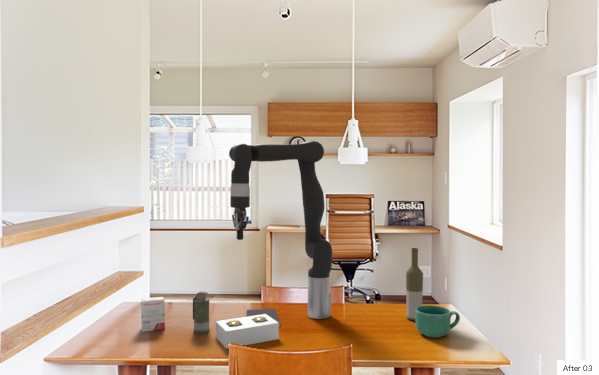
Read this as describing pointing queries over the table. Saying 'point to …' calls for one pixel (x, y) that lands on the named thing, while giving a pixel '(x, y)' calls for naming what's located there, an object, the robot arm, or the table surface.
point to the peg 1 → (234, 323)
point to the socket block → (247, 331)
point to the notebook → (269, 312)
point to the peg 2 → (259, 319)
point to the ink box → (152, 314)
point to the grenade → (201, 313)
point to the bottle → (413, 286)
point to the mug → (434, 320)
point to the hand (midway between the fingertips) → (239, 239)
